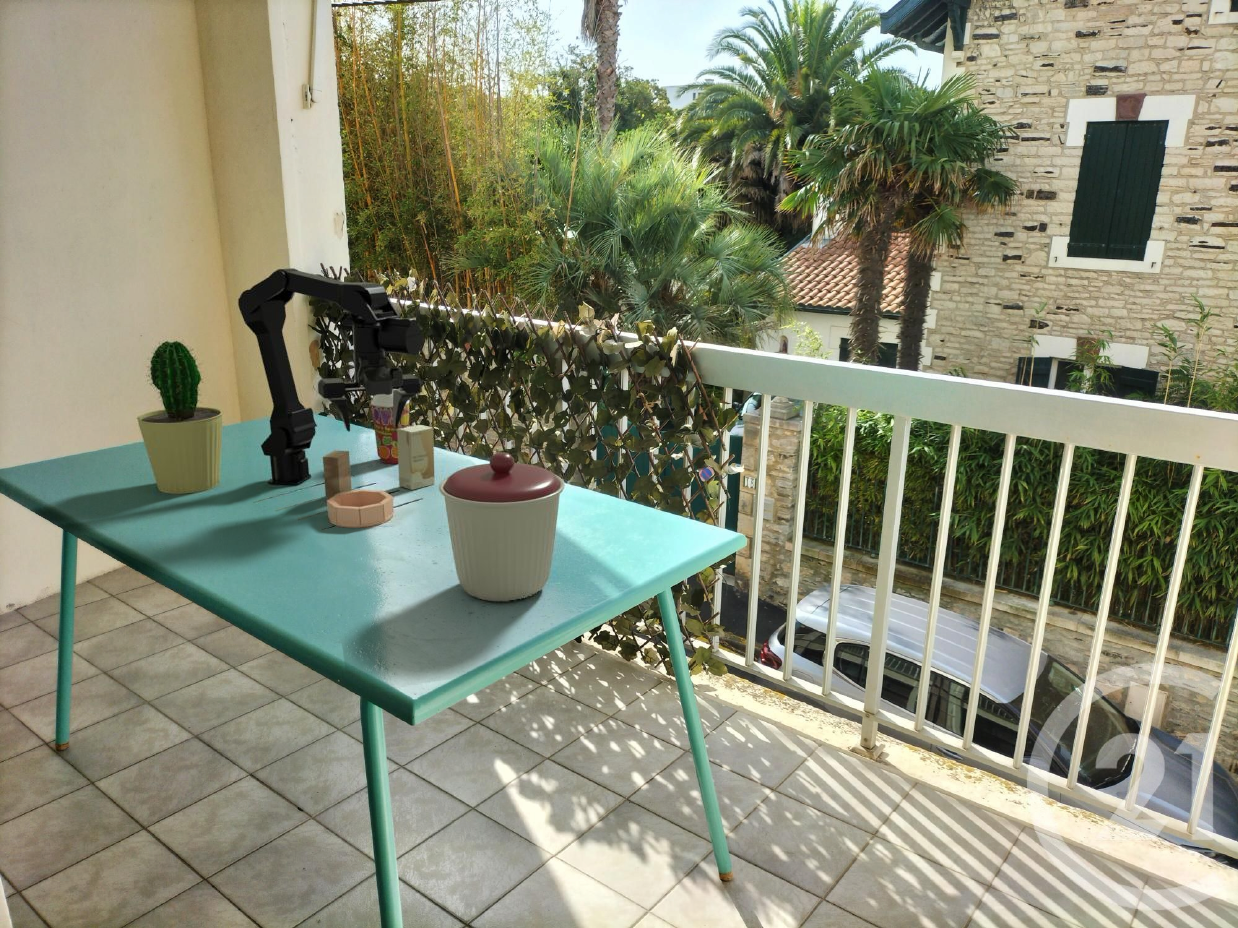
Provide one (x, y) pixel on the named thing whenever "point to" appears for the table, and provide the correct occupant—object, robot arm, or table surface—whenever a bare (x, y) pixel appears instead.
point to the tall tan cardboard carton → (336, 473)
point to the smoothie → (387, 427)
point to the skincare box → (416, 456)
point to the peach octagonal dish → (360, 508)
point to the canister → (502, 526)
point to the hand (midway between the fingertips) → (372, 429)
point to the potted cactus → (181, 425)
